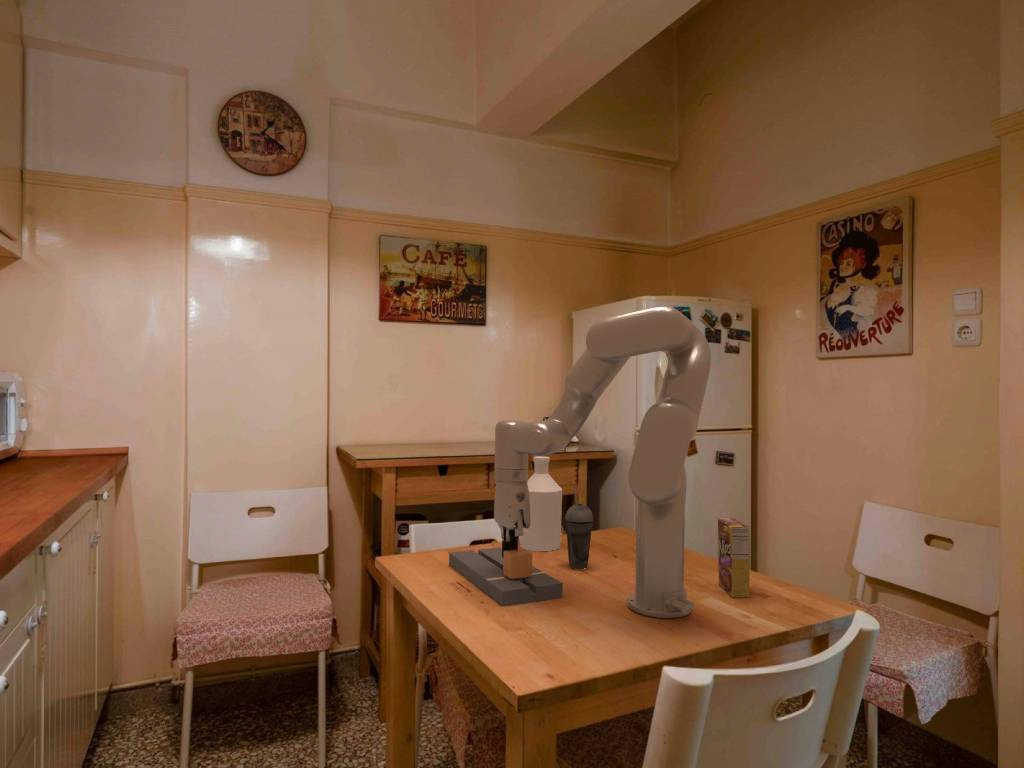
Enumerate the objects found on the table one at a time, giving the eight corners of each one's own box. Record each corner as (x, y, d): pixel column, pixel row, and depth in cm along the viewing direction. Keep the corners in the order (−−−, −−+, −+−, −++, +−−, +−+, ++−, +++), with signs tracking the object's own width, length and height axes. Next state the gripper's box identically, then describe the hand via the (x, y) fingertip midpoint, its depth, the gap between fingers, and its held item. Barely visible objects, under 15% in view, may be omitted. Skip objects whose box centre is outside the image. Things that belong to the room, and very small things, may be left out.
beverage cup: (594, 571, 148) (596, 488, 148) (564, 570, 148) (565, 488, 148) (591, 563, 155) (592, 484, 155) (562, 562, 155) (564, 483, 156)
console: (562, 597, 129) (562, 582, 129) (502, 606, 123) (502, 590, 123) (500, 558, 158) (500, 546, 158) (448, 564, 152) (449, 552, 152)
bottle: (557, 553, 164) (559, 460, 164) (514, 550, 167) (516, 458, 167) (564, 543, 176) (565, 456, 176) (524, 540, 178) (525, 454, 179)
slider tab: (531, 583, 132) (532, 553, 132) (510, 586, 130) (511, 555, 130) (523, 578, 136) (524, 548, 136) (503, 581, 133) (503, 550, 134)
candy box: (716, 584, 139) (717, 517, 140) (735, 585, 139) (736, 517, 140) (730, 597, 130) (730, 526, 131) (750, 598, 130) (751, 526, 131)
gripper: (541, 479, 132) (540, 565, 131) (512, 471, 145) (510, 548, 145) (510, 481, 128) (508, 569, 128) (482, 472, 142) (481, 551, 142)
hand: (509, 558), depth 136 cm, fingers closed
